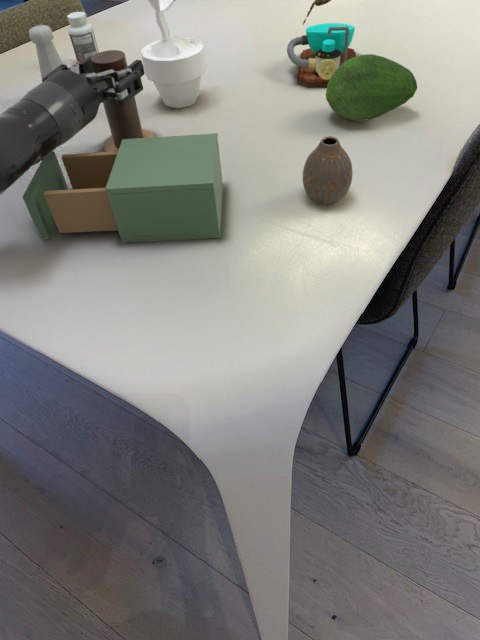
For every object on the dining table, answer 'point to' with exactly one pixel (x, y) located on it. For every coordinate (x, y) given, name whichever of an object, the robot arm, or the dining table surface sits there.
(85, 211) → the drawer
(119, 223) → the cabinet
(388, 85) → the fruit
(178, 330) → the dining table surface
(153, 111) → the dining table surface
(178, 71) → the potted plant
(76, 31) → the pill bottle
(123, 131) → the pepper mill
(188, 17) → the dining table surface
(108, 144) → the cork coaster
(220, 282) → the dining table surface
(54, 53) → the salt shaker
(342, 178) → the vase
